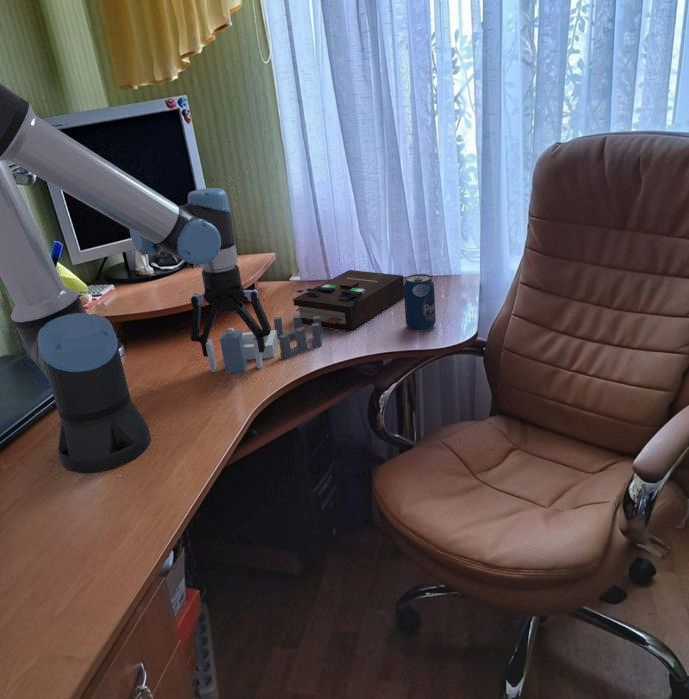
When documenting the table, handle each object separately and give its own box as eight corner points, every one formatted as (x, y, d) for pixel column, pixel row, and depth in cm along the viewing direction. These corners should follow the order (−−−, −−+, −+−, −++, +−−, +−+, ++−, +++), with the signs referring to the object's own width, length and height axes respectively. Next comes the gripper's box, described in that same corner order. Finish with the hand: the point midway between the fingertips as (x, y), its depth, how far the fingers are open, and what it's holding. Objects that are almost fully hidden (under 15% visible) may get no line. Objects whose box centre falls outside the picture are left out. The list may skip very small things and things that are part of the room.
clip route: (269, 360, 145) (266, 339, 143) (276, 336, 158) (274, 317, 156) (320, 356, 144) (317, 335, 142) (323, 333, 157) (320, 313, 155)
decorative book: (411, 270, 173) (348, 307, 151) (412, 297, 176) (351, 338, 154) (350, 264, 184) (282, 298, 161) (352, 290, 187) (286, 327, 164)
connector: (226, 373, 141) (218, 333, 137) (229, 365, 144) (222, 326, 141) (244, 372, 141) (238, 332, 137) (247, 364, 144) (241, 325, 141)
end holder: (233, 360, 147) (231, 348, 145) (240, 345, 155) (238, 333, 154) (273, 357, 146) (271, 345, 145) (278, 342, 154) (276, 330, 153)
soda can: (432, 332, 151) (430, 282, 146) (402, 331, 153) (399, 282, 149) (438, 321, 157) (436, 273, 152) (410, 320, 159) (407, 273, 155)
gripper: (275, 257, 137) (289, 356, 145) (170, 266, 138) (190, 364, 146) (271, 267, 130) (286, 371, 138) (161, 277, 131) (182, 379, 140)
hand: (237, 367), depth 142 cm, fingers open, 9 cm apart
